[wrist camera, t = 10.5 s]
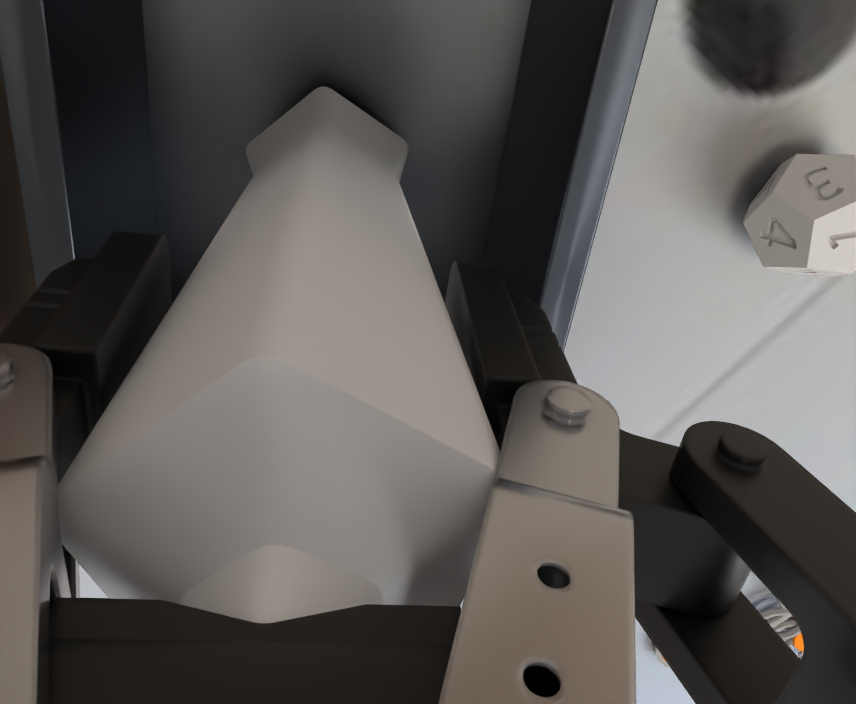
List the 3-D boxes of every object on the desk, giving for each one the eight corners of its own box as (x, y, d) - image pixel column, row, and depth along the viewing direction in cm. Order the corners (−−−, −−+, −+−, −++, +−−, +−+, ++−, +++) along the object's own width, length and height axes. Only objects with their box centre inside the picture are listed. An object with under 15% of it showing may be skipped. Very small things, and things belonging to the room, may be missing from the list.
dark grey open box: (141, 350, 22) (69, 501, 17) (97, -200, 15) (-52, -255, 10) (481, 373, 24) (519, 520, 18) (582, -120, 17) (693, -128, 11)
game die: (841, 243, 22) (903, 287, 20) (721, 262, 22) (767, 309, 20) (861, 127, 21) (933, 160, 18) (730, 149, 21) (783, 184, 18)
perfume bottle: (249, 45, 16) (-136, 579, 4) (436, 104, 17) (655, 685, 5) (214, 232, 18) (-100, 969, 6) (382, 274, 19) (428, 984, 7)
